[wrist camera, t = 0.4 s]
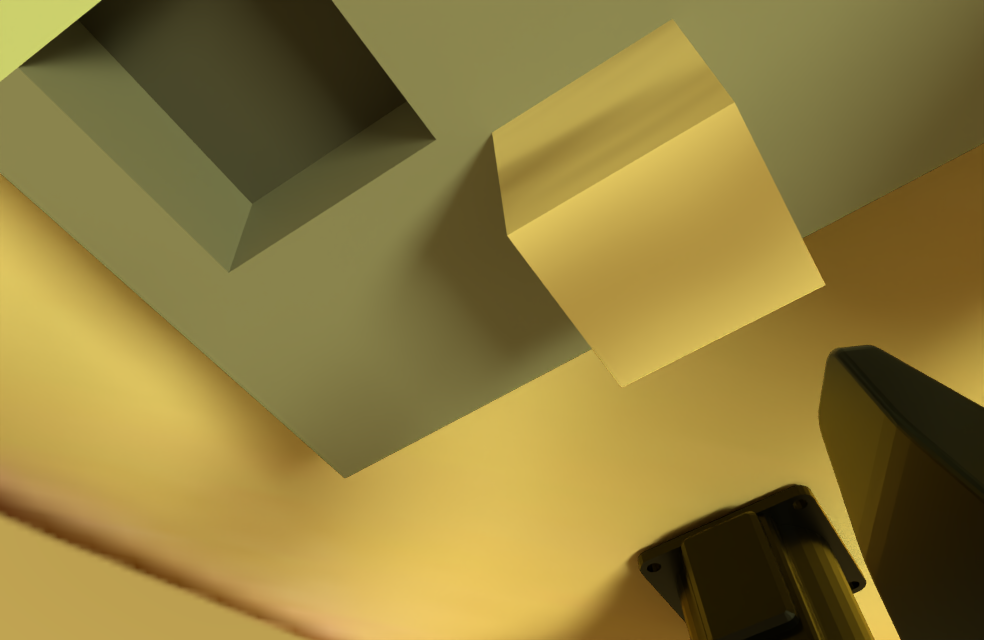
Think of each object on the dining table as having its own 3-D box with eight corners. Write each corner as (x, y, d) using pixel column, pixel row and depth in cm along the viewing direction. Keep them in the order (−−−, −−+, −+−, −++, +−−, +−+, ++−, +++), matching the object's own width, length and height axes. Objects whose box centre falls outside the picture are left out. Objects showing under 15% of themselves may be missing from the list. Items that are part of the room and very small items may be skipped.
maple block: (754, 178, 18) (825, 284, 15) (589, 270, 19) (621, 388, 16) (672, 18, 16) (734, 102, 13) (492, 132, 17) (507, 235, 14)
